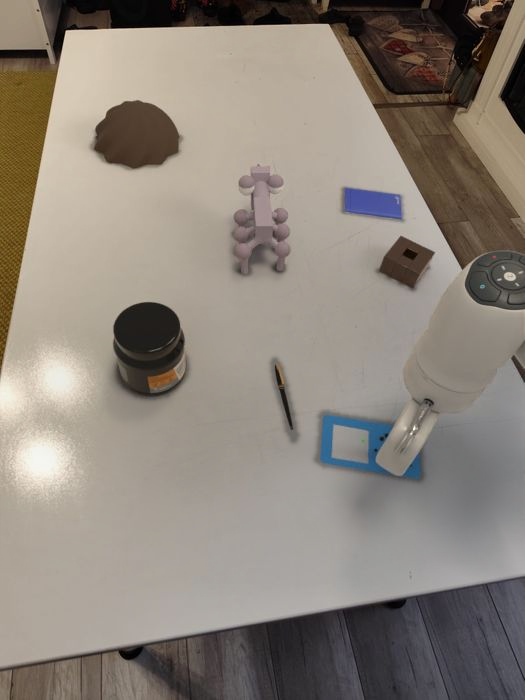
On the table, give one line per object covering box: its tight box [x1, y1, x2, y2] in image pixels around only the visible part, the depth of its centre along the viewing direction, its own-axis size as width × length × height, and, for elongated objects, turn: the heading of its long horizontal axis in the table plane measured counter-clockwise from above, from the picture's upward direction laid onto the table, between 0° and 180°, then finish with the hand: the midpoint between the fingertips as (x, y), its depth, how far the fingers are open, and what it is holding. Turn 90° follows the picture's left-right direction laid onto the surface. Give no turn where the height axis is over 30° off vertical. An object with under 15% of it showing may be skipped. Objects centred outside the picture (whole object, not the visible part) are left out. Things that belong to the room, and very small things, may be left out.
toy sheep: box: [233, 163, 292, 275], centre depth 99 cm, size 20×11×14 cm, turn 3°
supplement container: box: [112, 301, 187, 397], centre depth 79 cm, size 10×10×12 cm
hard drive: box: [343, 187, 403, 221], centre depth 113 cm, size 2×8×12 cm
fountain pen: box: [274, 364, 294, 431], centre depth 82 cm, size 14×1×2 cm, turn 11°
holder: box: [378, 235, 436, 290], centre depth 101 cm, size 7×7×5 cm
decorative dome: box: [93, 99, 180, 170], centre depth 116 cm, size 19×20×10 cm
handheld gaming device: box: [319, 414, 421, 479], centre depth 79 cm, size 8×1×15 cm
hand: (407, 429), depth 70 cm, fingers closed
